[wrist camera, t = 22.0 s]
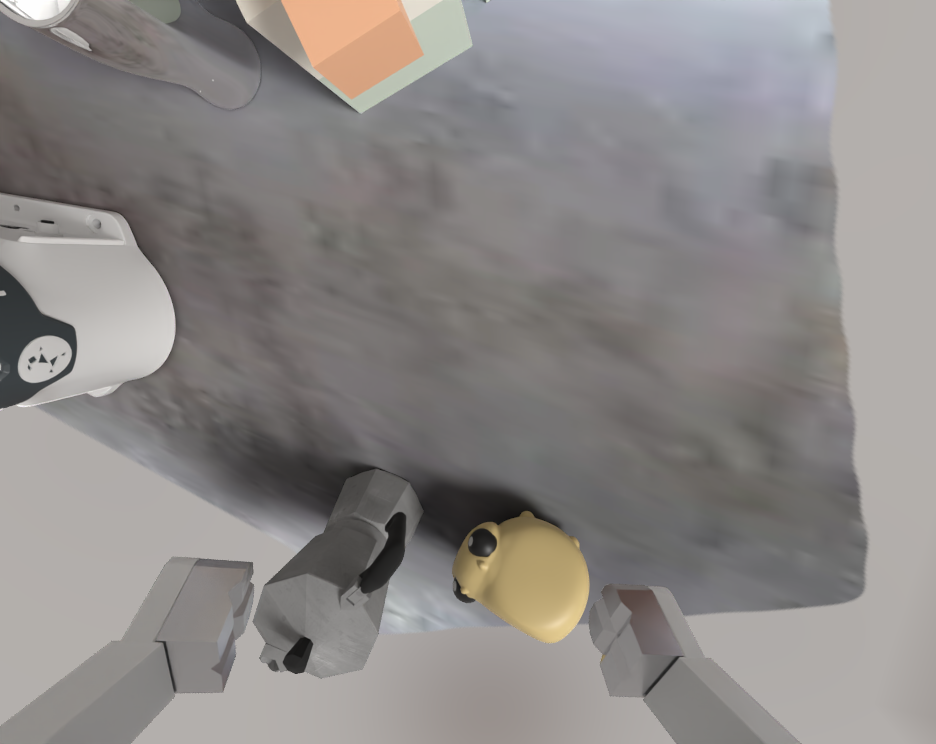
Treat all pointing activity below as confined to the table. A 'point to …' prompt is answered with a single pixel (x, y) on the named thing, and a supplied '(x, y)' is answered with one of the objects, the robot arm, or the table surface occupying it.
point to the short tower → (441, 39)
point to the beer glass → (152, 42)
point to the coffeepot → (339, 580)
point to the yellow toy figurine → (524, 575)
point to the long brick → (354, 40)
